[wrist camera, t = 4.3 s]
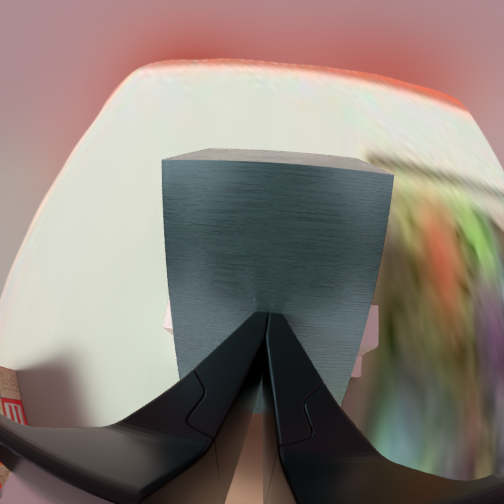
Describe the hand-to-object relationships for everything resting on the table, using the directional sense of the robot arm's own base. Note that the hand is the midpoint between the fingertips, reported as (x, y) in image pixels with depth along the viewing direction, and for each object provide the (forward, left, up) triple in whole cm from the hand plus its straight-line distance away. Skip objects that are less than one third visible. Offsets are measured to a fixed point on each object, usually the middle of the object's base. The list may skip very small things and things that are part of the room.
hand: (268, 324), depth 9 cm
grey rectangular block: (-1, +1, -5) cm, 5 cm away
